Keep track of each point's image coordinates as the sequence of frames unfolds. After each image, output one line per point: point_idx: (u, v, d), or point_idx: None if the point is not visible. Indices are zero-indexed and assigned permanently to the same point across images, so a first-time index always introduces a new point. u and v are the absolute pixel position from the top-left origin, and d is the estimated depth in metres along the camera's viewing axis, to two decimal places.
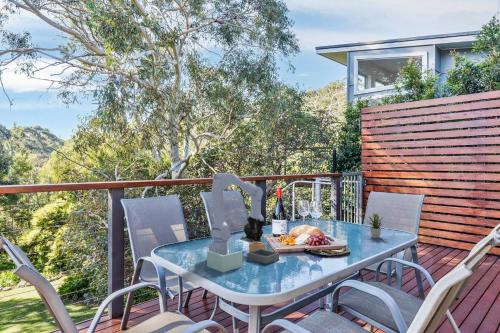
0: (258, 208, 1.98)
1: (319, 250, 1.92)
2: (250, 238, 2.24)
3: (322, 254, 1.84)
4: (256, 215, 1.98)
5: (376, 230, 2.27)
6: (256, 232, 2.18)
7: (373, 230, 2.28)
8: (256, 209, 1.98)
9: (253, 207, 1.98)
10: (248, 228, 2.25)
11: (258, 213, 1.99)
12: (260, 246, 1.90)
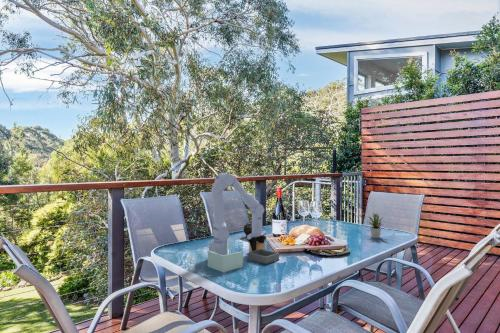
0: (254, 226, 1.90)
1: (319, 250, 1.92)
2: None
3: (322, 254, 1.84)
4: (252, 233, 1.91)
5: (376, 230, 2.27)
6: None
7: (373, 230, 2.28)
8: (252, 226, 1.91)
9: (253, 225, 1.91)
10: (248, 228, 2.24)
11: (254, 231, 1.91)
12: (260, 246, 1.90)
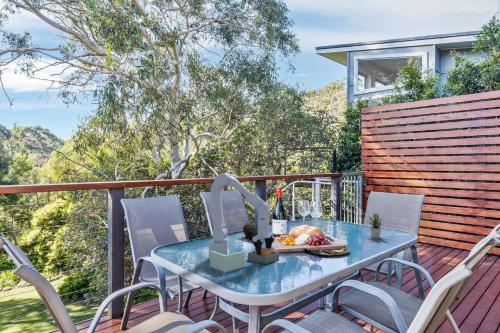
0: (260, 227, 1.77)
1: (319, 250, 1.92)
2: (250, 239, 2.23)
3: (322, 254, 1.84)
4: (258, 234, 1.78)
5: (376, 230, 2.27)
6: (257, 232, 2.17)
7: (373, 230, 2.28)
8: (258, 228, 1.78)
9: (258, 225, 1.79)
10: (248, 229, 2.23)
11: (260, 233, 1.77)
12: (267, 252, 1.76)
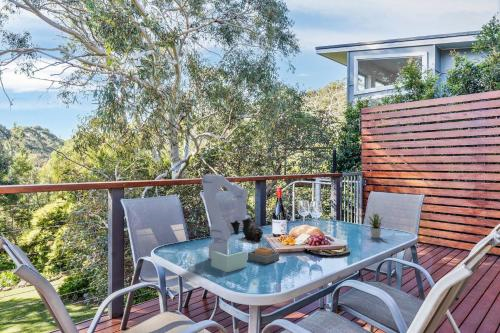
0: (238, 210, 1.95)
1: (319, 250, 1.92)
2: (250, 239, 2.22)
3: (322, 254, 1.84)
4: (236, 216, 1.96)
5: (376, 230, 2.27)
6: (257, 233, 2.16)
7: (373, 230, 2.28)
8: (236, 210, 1.96)
9: (239, 209, 1.95)
10: (248, 229, 2.22)
11: (238, 215, 1.95)
12: (267, 252, 1.76)
